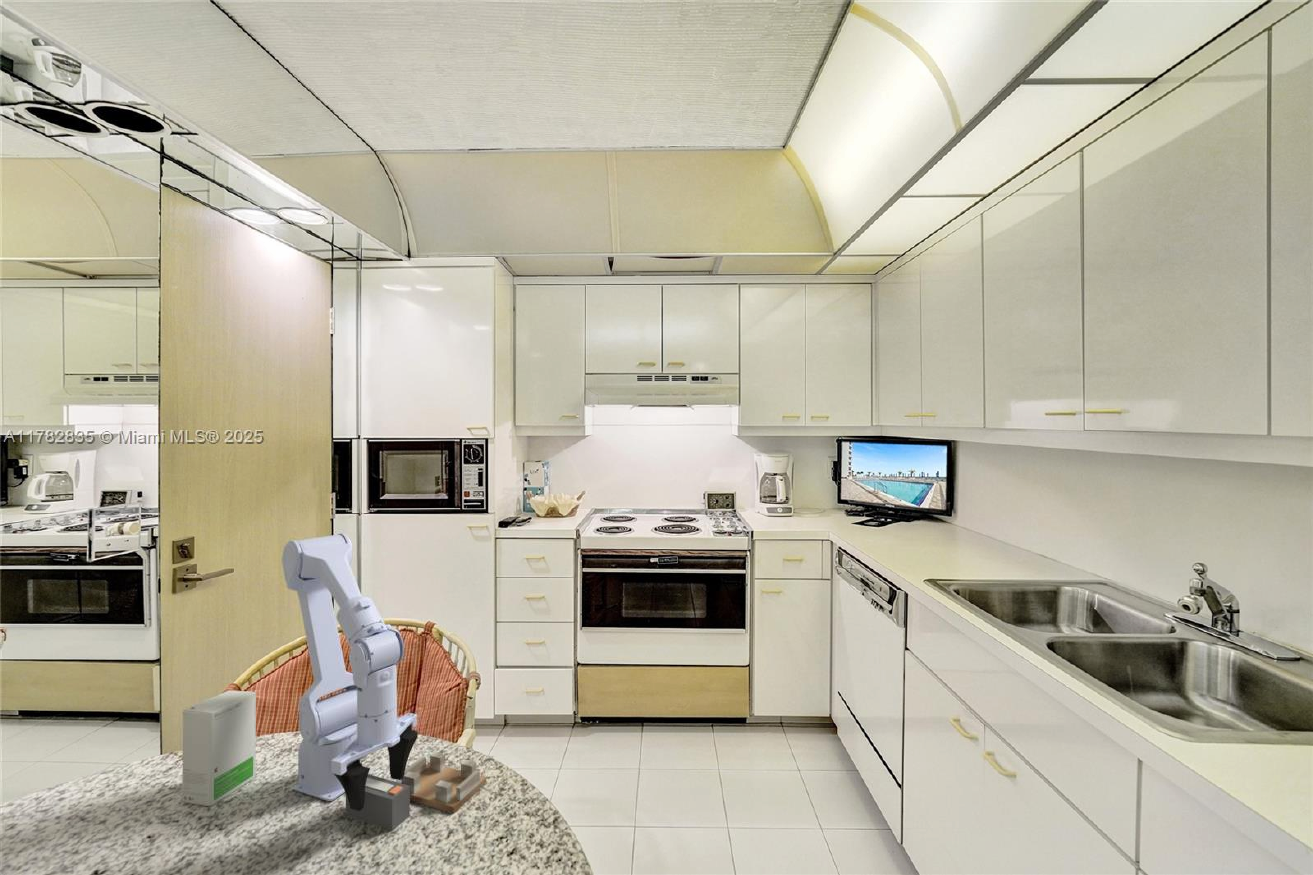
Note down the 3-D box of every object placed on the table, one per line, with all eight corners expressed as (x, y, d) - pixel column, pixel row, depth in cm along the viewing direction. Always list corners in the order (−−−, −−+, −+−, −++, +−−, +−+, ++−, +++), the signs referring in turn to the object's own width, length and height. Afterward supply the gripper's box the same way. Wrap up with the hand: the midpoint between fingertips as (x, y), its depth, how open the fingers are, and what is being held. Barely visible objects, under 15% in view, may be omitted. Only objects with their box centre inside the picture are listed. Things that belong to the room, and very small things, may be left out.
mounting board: (393, 795, 88) (393, 774, 88) (429, 767, 95) (429, 748, 95) (453, 813, 83) (453, 792, 83) (486, 782, 91) (486, 763, 91)
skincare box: (209, 808, 85) (209, 714, 85) (178, 803, 86) (178, 710, 87) (258, 776, 93) (258, 690, 94) (228, 772, 95) (229, 687, 95)
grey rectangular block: (345, 816, 83) (345, 784, 83) (364, 802, 86) (364, 771, 86) (392, 831, 80) (392, 798, 80) (409, 816, 83) (409, 784, 83)
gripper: (355, 736, 75) (355, 830, 75) (430, 691, 89) (430, 770, 88) (321, 728, 78) (321, 818, 77) (399, 685, 91) (399, 762, 91)
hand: (377, 792), depth 83 cm, fingers open, 7 cm apart
